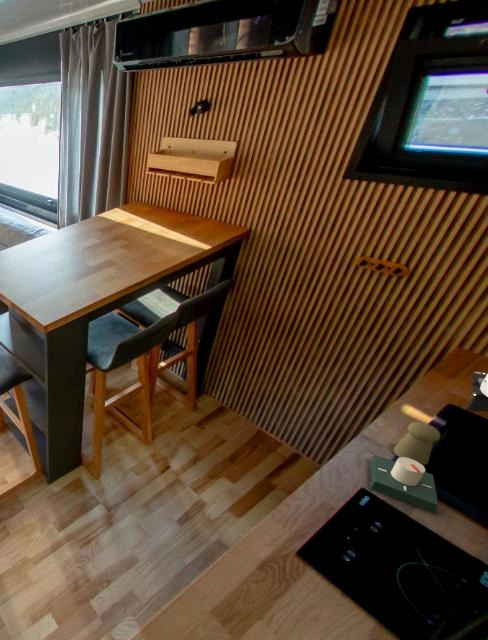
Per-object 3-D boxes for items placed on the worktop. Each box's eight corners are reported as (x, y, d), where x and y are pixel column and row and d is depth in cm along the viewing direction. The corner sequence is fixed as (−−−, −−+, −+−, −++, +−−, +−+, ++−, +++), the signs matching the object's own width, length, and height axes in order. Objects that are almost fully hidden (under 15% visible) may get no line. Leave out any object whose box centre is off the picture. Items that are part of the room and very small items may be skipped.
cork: (405, 464, 97) (421, 435, 92) (387, 445, 102) (401, 417, 97) (435, 466, 95) (453, 437, 91) (415, 447, 100) (430, 419, 96)
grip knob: (385, 468, 94) (392, 455, 92) (408, 471, 93) (416, 457, 90) (399, 484, 90) (407, 470, 88) (423, 487, 89) (431, 473, 87)
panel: (428, 482, 92) (433, 474, 91) (433, 512, 86) (438, 504, 85) (370, 461, 99) (373, 453, 98) (371, 488, 93) (375, 480, 92)
